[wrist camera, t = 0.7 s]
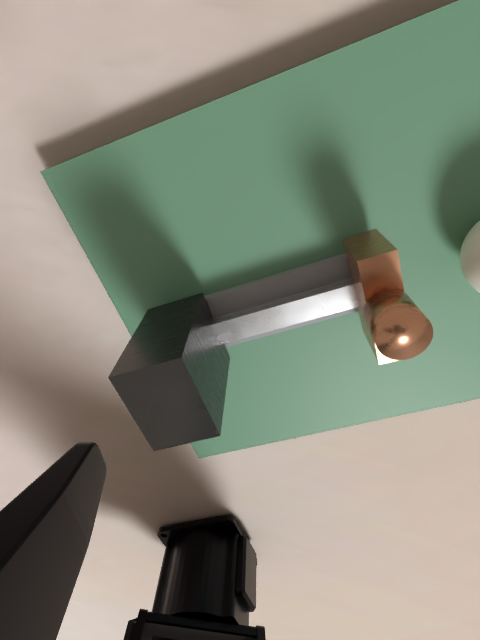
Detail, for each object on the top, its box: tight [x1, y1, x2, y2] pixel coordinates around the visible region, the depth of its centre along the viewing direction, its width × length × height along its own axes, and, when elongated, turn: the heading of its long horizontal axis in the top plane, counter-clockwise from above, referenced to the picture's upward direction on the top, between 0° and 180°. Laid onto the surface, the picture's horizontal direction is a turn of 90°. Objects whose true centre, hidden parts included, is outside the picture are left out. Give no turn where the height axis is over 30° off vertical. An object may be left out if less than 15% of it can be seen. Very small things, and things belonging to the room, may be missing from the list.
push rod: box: [108, 229, 433, 451], centre depth 16 cm, size 12×5×6 cm, turn 109°
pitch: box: [41, 0, 480, 458], centre depth 18 cm, size 31×19×2 cm, turn 109°
